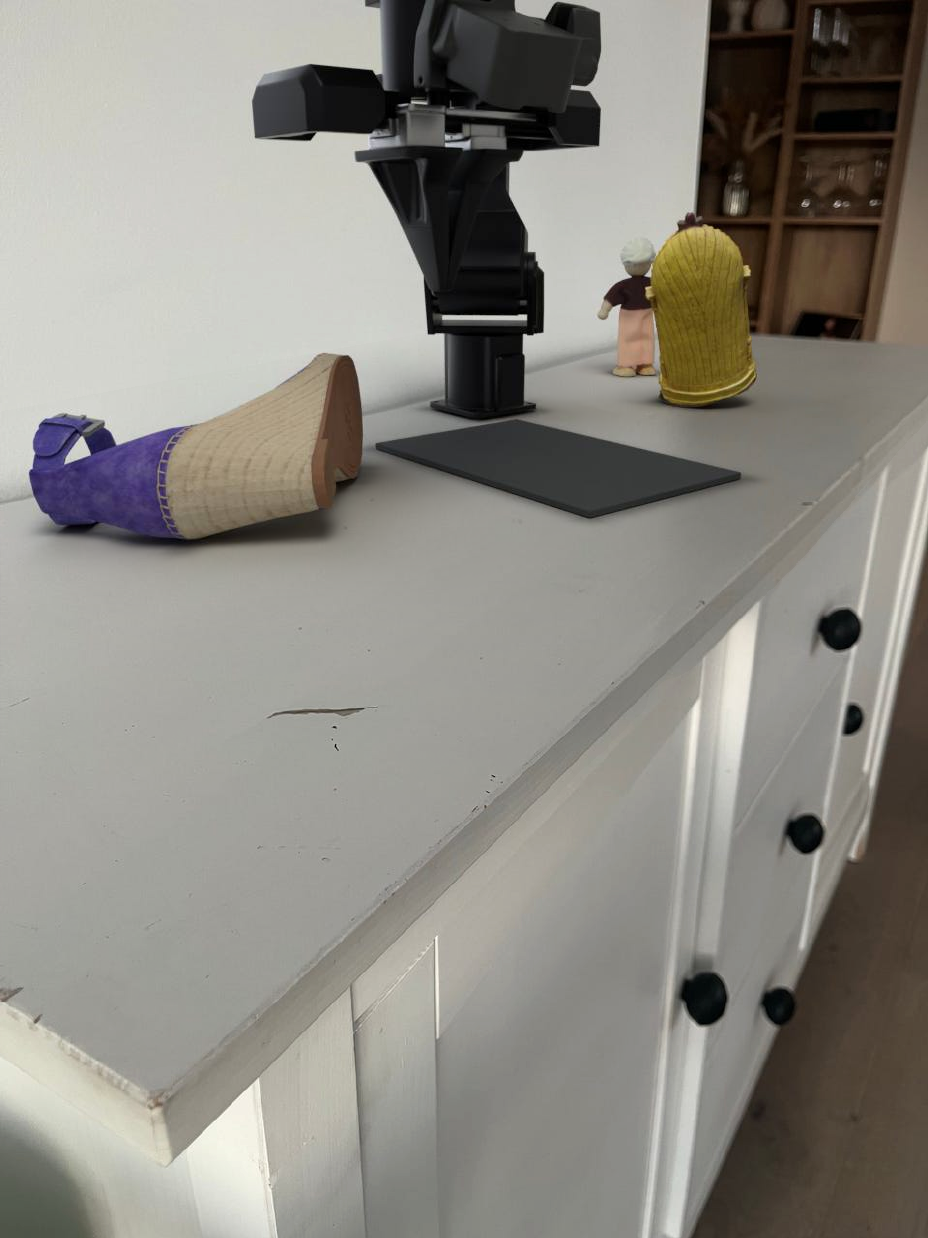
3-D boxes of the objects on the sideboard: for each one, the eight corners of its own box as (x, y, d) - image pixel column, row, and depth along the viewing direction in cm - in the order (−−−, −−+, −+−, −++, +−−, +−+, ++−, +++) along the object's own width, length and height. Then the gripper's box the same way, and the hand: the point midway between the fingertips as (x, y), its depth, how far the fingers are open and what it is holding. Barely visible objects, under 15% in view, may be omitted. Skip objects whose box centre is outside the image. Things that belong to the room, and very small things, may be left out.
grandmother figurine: (651, 368, 100) (659, 236, 95) (673, 373, 96) (684, 236, 91) (587, 374, 97) (592, 237, 92) (608, 379, 93) (615, 238, 88)
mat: (375, 448, 67) (375, 442, 67) (516, 423, 75) (516, 418, 74) (589, 518, 52) (590, 511, 52) (740, 478, 59) (741, 472, 59)
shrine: (725, 423, 75) (747, 211, 69) (626, 413, 78) (638, 212, 72) (763, 398, 84) (784, 210, 78) (672, 391, 88) (686, 210, 82)
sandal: (351, 313, 61) (116, 328, 61) (315, 445, 44) (-7, 465, 45) (367, 434, 65) (147, 447, 66) (339, 593, 49) (47, 610, 49)
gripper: (367, -125, 36) (382, 311, 42) (690, -49, 47) (665, 290, 53) (233, -63, 44) (262, 296, 50) (534, -10, 55) (529, 280, 61)
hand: (440, 290), depth 53 cm, fingers closed
